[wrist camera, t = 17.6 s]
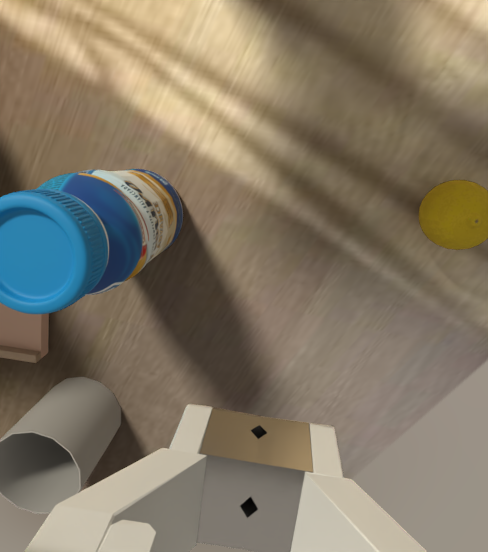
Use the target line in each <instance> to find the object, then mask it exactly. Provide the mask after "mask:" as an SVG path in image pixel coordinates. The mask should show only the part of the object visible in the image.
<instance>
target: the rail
mask: <svg viewBox="0 0 488 552" xmlns="http://www.w3.org/2000/svg"><path fill="white" fill-rule="evenodd" d="M48 337H49V313H47V314H27V313H22V312H19V311H16V310H13V309H11V308H9V307H7V306H5V305H3V304H2V303H0V357H1V358H7V359H13V360H20V361H26V362H32V363H36V362H38V361H39V360H40V359H41V358H42V357H44V356H45V355H46V354H47V353H48Z"/></svg>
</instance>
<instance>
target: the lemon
mask: <svg viewBox="0 0 488 552" xmlns="http://www.w3.org/2000/svg"><path fill="white" fill-rule="evenodd" d="M419 223H420V226H421V228H422V231H423V232H424V234H425V235H426V236H427V237H428V238H429V239H430V240H431V241H432V242H434V243H435V244H437V245H439V246H442V247H444V248H447V249H455V250H460V249H469V248H472V247H474V246H477V245H479V244H481V243H482V242H484V241H485V240H486V239H487V238H488V191H487V190H486V189H485V188H484V187H482V186H480V185H478V184H476V183H474V182H470V181H466V180H452V181H448V182H444V183H442V184H440V185H438V186H436V187H434V188H433V189H432V190H431V191H430V192H428V193H427V195H426V196H425V197H424V199H423V200H422V203H421V205H420V208H419Z"/></svg>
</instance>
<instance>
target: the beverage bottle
mask: <svg viewBox="0 0 488 552" xmlns="http://www.w3.org/2000/svg"><path fill="white" fill-rule="evenodd" d="M182 222H183V209H182V204H181V201H180V198H179V196H178V194H177V192H176V190H175V189H174V188H173V186H172V185H171V184H170V183H169V182H168V181H167V180H166V179H165V178H163V177H162V176H160V175H158V174H156V173H154V172H152V171H148V170H144V169H130V170H124V171H104V170H86V171H81V172H77V173H69V174H64V175H60V176H57V177H54V178H52V179H50V180H48V181H47V182H45V183H44V184H42V185H41V186H40V187H38V188H37V189H36V190H35V189H33V190H26V191H18V192H13V193H9V194H8V195H3V196H2V197H0V303H2V304H3V305H5V306H7V307H9V308H11V309H13V310H16V311H19V312H22V313H27V314H47V313H52V312H56V311H58V310H62V309H63V308H66V307H68V306H70V305H72V304H73V303H75V302H76V301H77V300H79V299H80V298H82V297H83V296H85V295H94V294H100V293H103V292H107V291H109V290H111V289H113V288H115V287H117V286H119V285H120V284H121V283H123V282H125V281H127V280H128V279H130V278H132V277H133V276H135V275H136V274H137V273H139V272H140V271H141V270H142V269H143V268H144V267H145V265H146V264H147V263H148V262H149V261H151V260H152V259H153V258H155V257H156V256H157V255H158V254H160V253H161V252H163V251H164V250H166V249H167V248H168V247H169V246H171V245H172V243H173V242H174V241H175V240H176V238H177V237H178V235H179V233H180V230H181V227H182Z"/></svg>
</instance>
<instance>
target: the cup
mask: <svg viewBox="0 0 488 552" xmlns="http://www.w3.org/2000/svg"><path fill="white" fill-rule="evenodd" d="M120 425H121V407H120V405H119V403H118V401H117V399H116V397H115V395H114V393H112V392H111V391H110V390H109V389H108V388H106V387H105V386H104V385H103V384H102V383H101V382H98V381H95V380H92V379H89V378H86V377H75V378H66V379H65V380H63V381H62V382H60V383H59V384H57V385H56V386H54V387H53V388H52V389H51V390H50V391H49V392H48V393H47V394H46V395H45V396H44V397H43V398H42V399H41V400H40V401H39V402H38V403H37V404H36V405H35V406H34V407H33V408H32V409H31V410H29V411H28V412H27V413H26V414H25V415H24V416H23V417H22V418H21V419H20V420H19V421H18V422H17V423H16V424H15V425H14V426H13V427H12V428H11V429H10V430H9V431H8V432H7V433H6V434H5V435H4V436H3V437H2V438H1V439H0V494H1V495H2V496H3V497H4V498H5V499H7V500H8V501H9V502H11V503H12V504H13V505H14V506H16V507H17V508H20V509H23V510H26V511H29V512H33V513H35V514H45V513H51V511H52V510H53V508H54V507H55V505H57V504H59V503H60V502H62V501H64V500H66V499H68V498H70V497H72V496H74V495H75V494H77V493H79V492H80V490H81V489H82V487H83V486H84V484H85V482H86V481H87V479H88V478H89V476H90V474H91V473H92V471H93V469H94V468H95V466H96V465H97V463H98V461H99V460H100V458H101V457H102V455H103V453H104V452H105V450H106V449H107V447H108V445H109V444H110V442H111V440H112V439H113V437H114V436H115V434H116V432H117V430H118V428H119V427H120Z"/></svg>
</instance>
